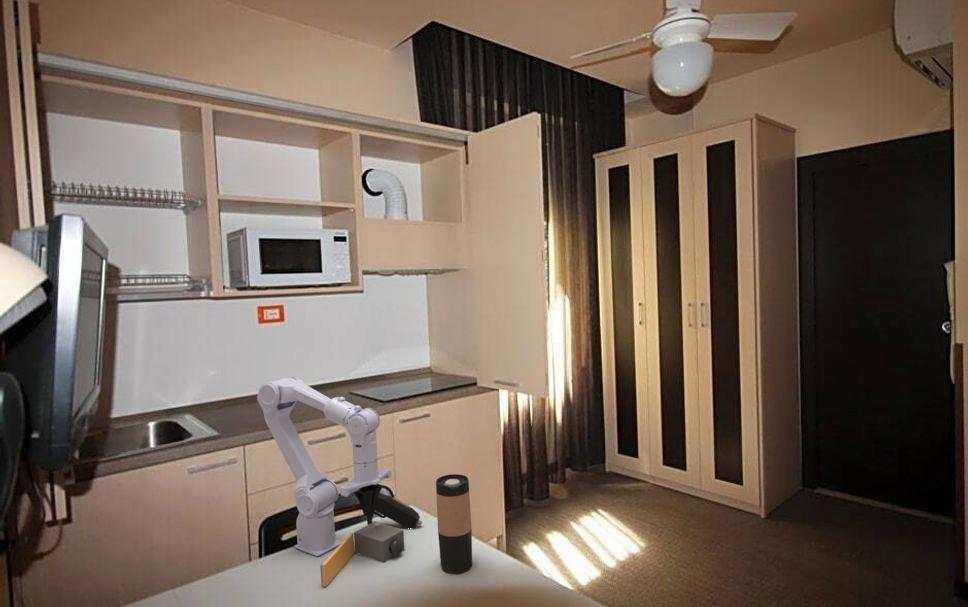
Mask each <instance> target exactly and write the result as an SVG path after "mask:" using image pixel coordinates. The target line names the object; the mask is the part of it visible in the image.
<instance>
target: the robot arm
mask: <svg viewBox="0 0 968 607" xmlns="http://www.w3.org/2000/svg"><path fill="white" fill-rule="evenodd" d="M256 400H257V402H258V404H259V406H260V407H261V409H262V411H263V417H264V418H263V419H264V421H265V424H266V425H267V427H268V430H269V431H270V433H271V435H272V437H273V439H274V441H275V443H276V444H277V446H278V448H279V450H280V451H281V452H280V453H281V454H282V456H283V458H284V460H285V462H286V464H287V466H288V468H289V470H290V472H291V473H292V474H293V477H294V478H295V480H296V483H295V485H294V486H295V487H294V489H293V493H292V494H293V496H294V498H295V503H296V504H295V505H296V508H297V510H298V512H299V513H298V516H297V518H296V523H295V524H296V538H297V540H296V541H297V544H295V545H294V548H295V549H296V550H297V549H298V550H300V551H303V552H305V553H308V554H310V555H312V556H314V557H320V556H322V555H324V554H326V553H327V552H329V551H332V550H333V549H336V548H337V547H338V546H339V545H340V544H341V543H342V542H343V541H344V540H340V539H338V538H336V528H335V512H334V508H335V506H336V504H335V502H336V501H337V500H338V498H339V495H340V496H342V497H350V494H354V495H355V497H356V499H357V501H358V502H359V505H360V507H361V509H362V512H363V516H364V517H366V518H367V517H371V516H373V517H374V515H375V514H374V509H375V505H376V501H377V498H378V495H379V493H381V491H382V484H380V483H381V482H382V481H383V480H385V479H391V478H392V470H391V469H388V468H384V469H380V470H379V464H378V463H379V462H378V460H379V459H378V445H377V444H378V443H377V429H378V428H379V426H380V423H381V418H380V416H379V413H378V412H377V411H376V410H375V409H373V408H372V407H366V408H362V406H360V405H359V404H358V405H355V404H353V403H351V402H350V401H347V400H346V397H344V396H340V397H339V396H337V397H333V398H330V397H328V396H326V395H325V394H324V393H323V394H322V393H321V392H320V391H318V390H316V389H314V388H312V387H311V386H309V385H308V384H306V383H305V382H304V380H303V379H298V378H297V377H295V376H293V375H290V376H287V377H285V378H281V379H277V380H272V381H267V382H263V383H262V384H261V385H260V386H259V390H258V393H257V396H256ZM297 402H300V403H303V404H305V405H307V406H309V407H312V408H315V409H317V410H319V411H322V412H323V414H324V417H325V418H326V419H327V420H329V421H331V422H333V423H335V424H337V425H338V426H341V427H343V428H345V429H346V431H347V433H348V434H349V436H350V440H351V443H352V457H353V459H352V461H353V475H354V478H353V479H352V480H350V481H348V482H347V483H346V484H344V485H343V486H340V487H339V488H340V490H339V488H338V485H337V484H336V483H335V482H334V481H333V480H332V479H331V478H329V475H328V474H327V473H326V472H323V471H321V470H319V469H317V467H316V464H315V463H314V461H313V460H312V457H311V455H310V454H309V452H308V449H307V448H306V445H305V444H304V443H303V441H302V439H301V437H300V435H299V433H298V431H297V429H296V428H295V425H294V424H293V422H292V419H291V418H290V416H291V412H292V410H293V408H294V407H295V405H296V404H297ZM339 491H340V492H339ZM339 493H340V494H339Z"/></svg>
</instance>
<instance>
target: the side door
mask: <svg viewBox="0 0 968 607" xmlns="http://www.w3.org/2000/svg"><path fill="white" fill-rule="evenodd" d="M342 541H343V542H342V543H341V544H340V545H339V546H337V547H335V548H334V551H333V552H332V553H331V554H330V555H329V556H328V557H327V559H325V561H323V562H322V563H321V564H320V565H319V566H320V582H321V584H322V587H325V588H327V587H328V585H329V584H330V583H331V582H332V581H333V580H334V578H335V577H336V576H337V574H338V573H339V572H340V571H341V570H342V569H343V567H344V566H345V565H346V563H347V562H348V561H349V560H350V559H351V558H352V556H353V555H355V543H354V532H349V534H348V535H347V536H346V537H345V538H344V539H343V540H342Z"/></svg>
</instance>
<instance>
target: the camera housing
mask: <svg viewBox="0 0 968 607" xmlns="http://www.w3.org/2000/svg"><path fill="white" fill-rule="evenodd" d="M353 536H354V553H356V554H358V553H359V555H361V554H362V556H364V555H365V556H364V557H367V558H369V557H370V558H369V559H372V558H373V559H372V560H375V561H378V562H381V563H386V562H387V561H390V559H392V558H394V557H395V556H398V555H400V554H401V553H403V552H404V551H405V537H404V536H405V535H404V529H401V528H398V527H394V526H391V525H388V524H386V523H382V522H380V521H373V523H371V524H369V525H368V524H367V525H365V526H363V527H361V528H360V529H358V530H355V531H354V532H353Z"/></svg>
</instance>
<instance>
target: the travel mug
mask: <svg viewBox="0 0 968 607" xmlns="http://www.w3.org/2000/svg"><path fill="white" fill-rule="evenodd" d="M469 481H470V480H469V478H468V476H466V475H463V474H459V473H458V474H457V473H455V474H454V473H451V474H445V475H442V476H440V477H438V478H437V479H436V480H435V489H436V490H435V492H436V493H435V495H436V512H437V514H436V516H437V517H436V518H437V534H438V535H437V536H438V544H439V546H438V547H439V557H440V559H439V560H440V568H441V570H442V572H444V573H445V574H448V575H461V574H464V573H467V572H468V571H471V569H472V567H473V539H472V538H473V537H472V531H473V530H472V512H471V511H472V510H471V500H470V498H471V495H470V483H469Z"/></svg>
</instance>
